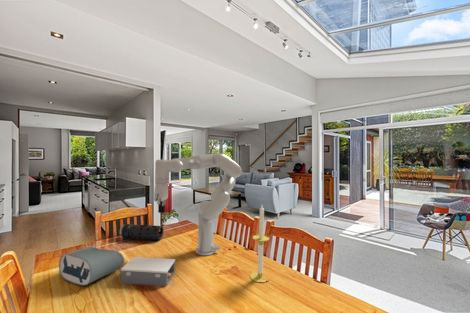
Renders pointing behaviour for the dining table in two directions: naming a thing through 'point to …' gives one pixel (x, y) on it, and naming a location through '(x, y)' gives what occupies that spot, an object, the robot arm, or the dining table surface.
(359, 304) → the dining table surface
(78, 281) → the pencil case
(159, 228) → the muzzle brake
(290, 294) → the dining table surface
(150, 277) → the cable duct
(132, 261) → the plate
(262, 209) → the candle
